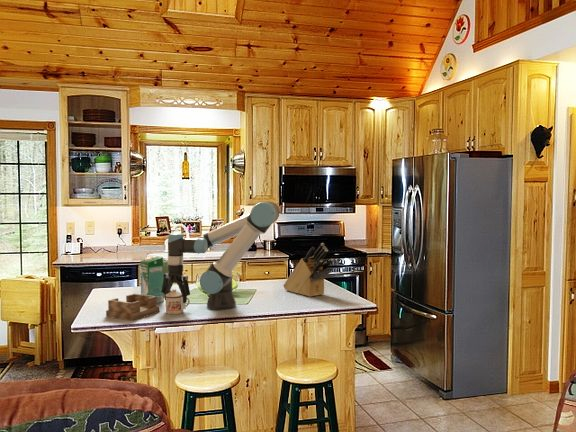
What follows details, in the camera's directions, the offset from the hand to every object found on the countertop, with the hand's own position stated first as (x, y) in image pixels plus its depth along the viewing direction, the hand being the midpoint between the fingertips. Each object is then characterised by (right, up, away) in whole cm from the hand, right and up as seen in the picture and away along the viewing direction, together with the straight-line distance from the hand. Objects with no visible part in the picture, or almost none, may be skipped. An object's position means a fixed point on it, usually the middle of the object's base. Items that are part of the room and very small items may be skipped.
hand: (175, 307), depth 255 cm
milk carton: (-18, -1, +24) cm, 30 cm away
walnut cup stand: (-20, -2, -4) cm, 21 cm away
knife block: (+69, 0, +42) cm, 81 cm away
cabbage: (-20, 0, +53) cm, 57 cm away
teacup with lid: (+1, -2, 0) cm, 3 cm away
